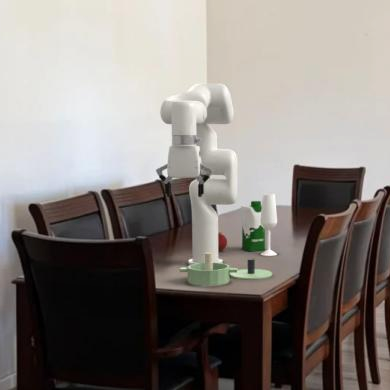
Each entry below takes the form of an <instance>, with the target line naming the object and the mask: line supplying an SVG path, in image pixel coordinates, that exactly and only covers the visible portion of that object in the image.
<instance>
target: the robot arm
mask: <svg viewBox="0 0 390 390" xmlns="http://www.w3.org/2000/svg"><path fill="white" fill-rule="evenodd" d="M159 114H160V119H161V120H162V121H161V122H163V123H164V124H167V125H171V145H169V147H168V152H167V153H168V155H167V164H164V165H162V166H160V167H158V168H156V169H155V172H156V174H157V176H158V178H159V179H160V180H161V181H162V183H164V189H165V190H164V194H165V195H166V197H167V198H170V197H171V196H172V183H171V181H172V179H194V180H193V181H191V182H190V184H189V188H188V189H189V190H188V191H189V198H190V204H191V205H190V206H191V236H192V237H191V238H192V240H191V241H192V242H191V243H192V244H191V245H192V249H191V250H192V254H191V255H192V258H190V259H188V260H187V264H188V266H189V265H192V264H197V263H205V253H206V252H211V253H213V263H223V261H224V260H223V259H222V258H219V251H218V233H219V216H218V213H217V211H216V210H215V209H214V208H213V206H214V205H215V206H216V205H223V206H224V205H225V206H227V205H234V204H236V203H237V199H238V193H239V191H238V189H239V187H238V186H239V184H238V183H239V176H238V175H239V172H238V171H239V164H238V163H239V162H238V155H237V153H236V152H235V151H234V150H233V149H229V148H228V149H227V148H218V134H217V133H216V131H215V130H214V128H213V127H212V125H228V124H231V123H232V121H233V120H234V117H235V116H234V114H235V109H234V103H233V100H232V95H231V93H230V90H229V88H228V87H227V86H226V85H225V84H223V83H196V84H194V85H192V86H191V87H189V89H188V90H187V91H184V92H180V93H176V94H172V95H169V96H167V97H166V98H165V99H164V100H163V101H162V103H161V106H160V111H159ZM165 170H166V172H167V173H166V174H167V176H165V175H164V173H163V171H165ZM202 175H205V176H204V177H202ZM211 176H224V178H210V177H211Z"/></svg>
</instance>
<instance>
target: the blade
mask: <svg viewBox="0 0 390 390" xmlns="http://www.w3.org/2000/svg"><path fill="white" fill-rule="evenodd" d="M205 270H213V253H211V252H206V253H205Z"/></svg>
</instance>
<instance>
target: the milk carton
mask: <svg viewBox="0 0 390 390" xmlns="http://www.w3.org/2000/svg"><path fill="white" fill-rule="evenodd" d="M240 209H241V210H240V211H241V237H242V238H241V239H242V240H241V249H242V250H244V251H247V252H258V251H266V229H265V228H264V227H263V226H262V224H261V223H260V220H261V209H262V200H251V201H250V204H247V205H246V204H245V205H240Z"/></svg>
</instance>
